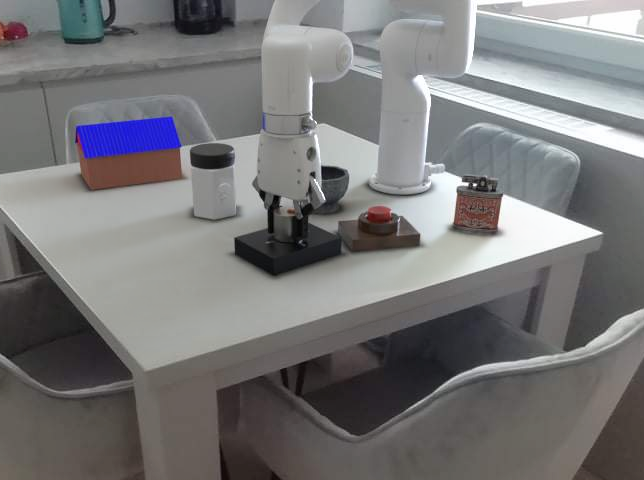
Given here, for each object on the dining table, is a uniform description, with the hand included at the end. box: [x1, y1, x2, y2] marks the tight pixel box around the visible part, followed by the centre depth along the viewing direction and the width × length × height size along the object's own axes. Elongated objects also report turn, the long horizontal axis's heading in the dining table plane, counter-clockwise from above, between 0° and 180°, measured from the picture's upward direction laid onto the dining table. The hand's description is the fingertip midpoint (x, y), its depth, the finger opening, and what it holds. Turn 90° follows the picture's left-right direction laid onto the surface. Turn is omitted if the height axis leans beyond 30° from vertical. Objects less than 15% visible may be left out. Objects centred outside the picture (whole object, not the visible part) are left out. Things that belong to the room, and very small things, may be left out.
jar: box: [189, 142, 237, 221], centre depth 140 cm, size 9×8×12 cm
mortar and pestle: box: [309, 164, 350, 215], centre depth 141 cm, size 11×9×12 cm
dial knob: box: [274, 205, 296, 242], centre depth 123 cm, size 5×5×5 cm
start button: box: [367, 205, 392, 222], centre depth 129 cm, size 4×4×2 cm
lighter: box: [451, 173, 505, 236], centre depth 132 cm, size 8×3×10 cm, turn 71°
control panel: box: [233, 222, 343, 277], centre depth 125 cm, size 14×11×3 cm
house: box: [74, 116, 183, 191], centre depth 159 cm, size 12×20×12 cm, turn 113°
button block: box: [337, 210, 421, 253], centre depth 130 cm, size 12×9×4 cm
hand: (287, 234), depth 124 cm, fingers closed on dial knob, 4 cm apart
